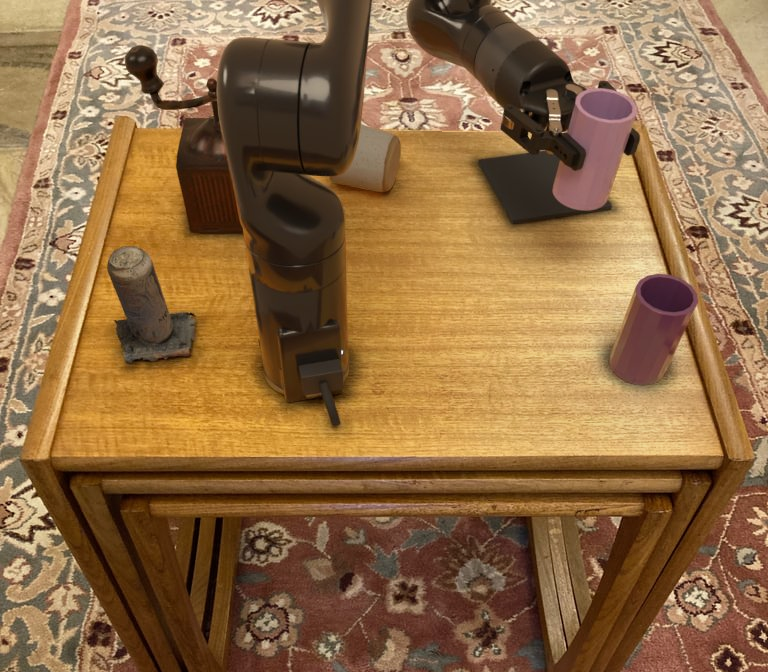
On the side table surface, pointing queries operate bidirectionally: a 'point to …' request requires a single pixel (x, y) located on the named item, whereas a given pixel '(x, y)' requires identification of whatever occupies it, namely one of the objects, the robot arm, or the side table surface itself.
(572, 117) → the lilac cup
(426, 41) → the robot arm
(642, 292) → the plum cup
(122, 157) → the side table surface
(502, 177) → the placemat
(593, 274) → the side table surface
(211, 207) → the manual coffee grinder
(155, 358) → the grey post on base
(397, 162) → the ceramic mug
